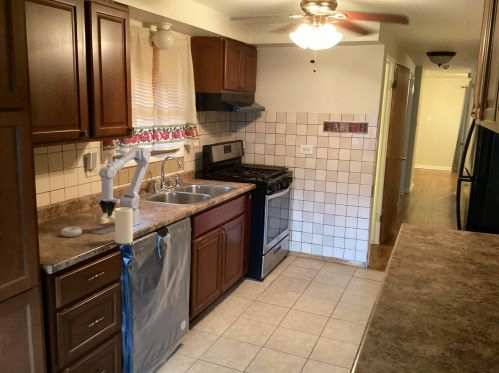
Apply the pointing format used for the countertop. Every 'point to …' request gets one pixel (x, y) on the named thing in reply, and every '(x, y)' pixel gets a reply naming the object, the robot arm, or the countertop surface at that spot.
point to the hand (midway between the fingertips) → (107, 215)
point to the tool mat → (104, 230)
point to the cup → (123, 225)
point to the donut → (71, 231)
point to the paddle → (105, 218)
